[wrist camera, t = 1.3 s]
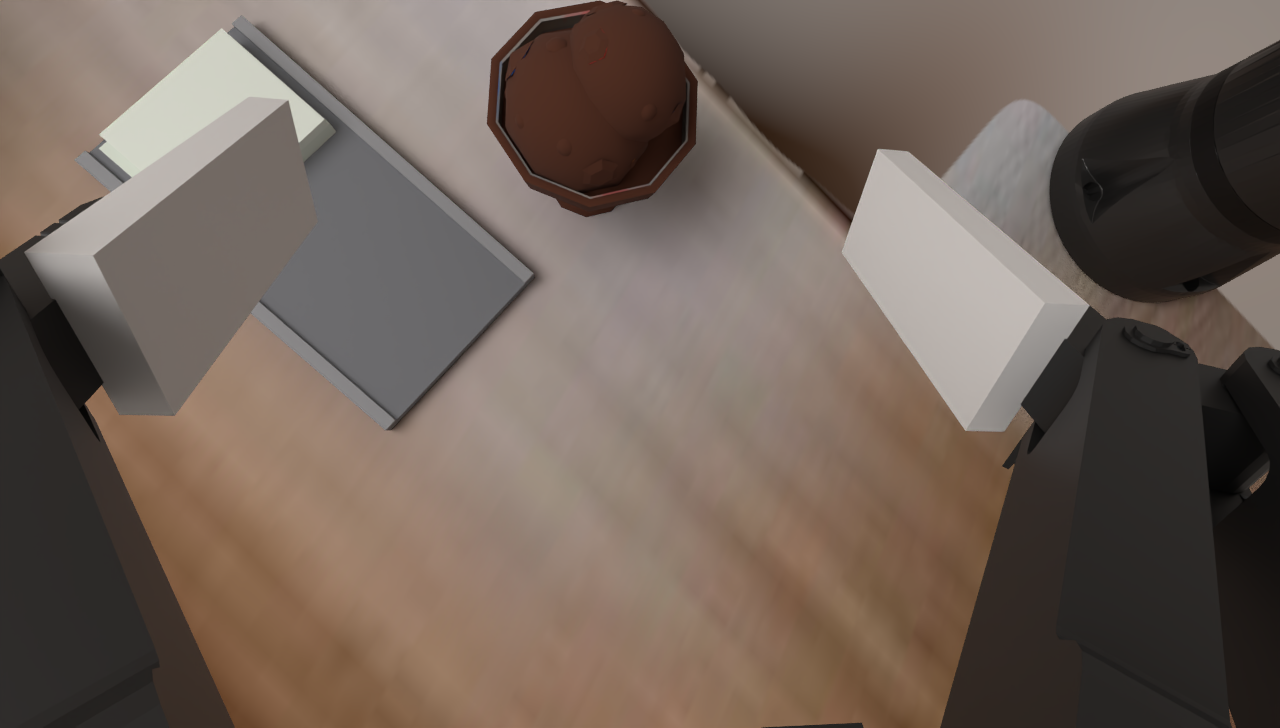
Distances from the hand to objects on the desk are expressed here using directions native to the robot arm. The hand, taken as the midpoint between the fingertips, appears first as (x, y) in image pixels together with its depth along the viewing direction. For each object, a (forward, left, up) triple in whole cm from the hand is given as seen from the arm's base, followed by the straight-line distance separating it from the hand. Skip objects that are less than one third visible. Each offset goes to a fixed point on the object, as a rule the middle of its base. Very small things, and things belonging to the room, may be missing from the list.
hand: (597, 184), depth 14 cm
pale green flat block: (+24, +5, -25) cm, 35 cm away
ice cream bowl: (+7, -9, -26) cm, 28 cm away
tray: (+17, +5, -25) cm, 31 cm away
